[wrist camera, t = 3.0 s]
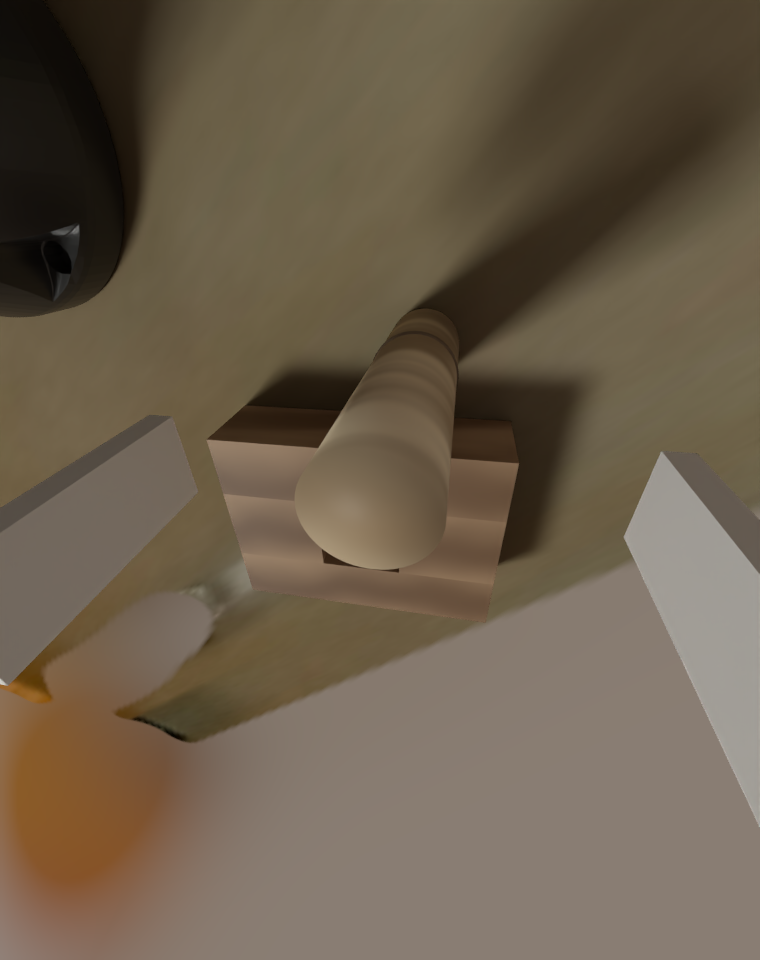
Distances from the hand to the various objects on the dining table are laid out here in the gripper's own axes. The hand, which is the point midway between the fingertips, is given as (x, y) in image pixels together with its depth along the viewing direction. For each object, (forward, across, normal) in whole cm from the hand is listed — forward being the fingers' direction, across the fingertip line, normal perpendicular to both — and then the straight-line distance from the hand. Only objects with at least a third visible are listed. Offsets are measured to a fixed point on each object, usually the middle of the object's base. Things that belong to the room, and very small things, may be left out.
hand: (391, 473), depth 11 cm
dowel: (+12, 0, 0) cm, 12 cm away
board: (+12, -3, -10) cm, 16 cm away
